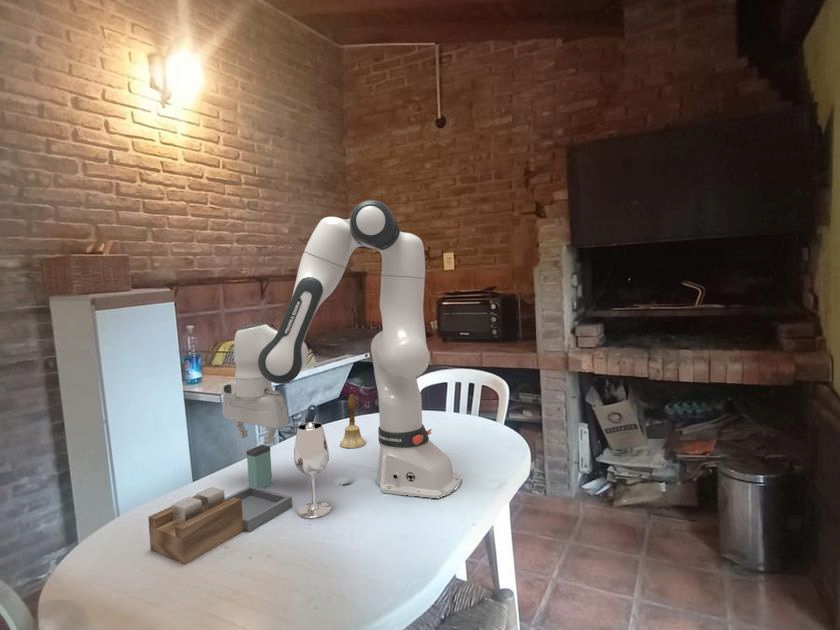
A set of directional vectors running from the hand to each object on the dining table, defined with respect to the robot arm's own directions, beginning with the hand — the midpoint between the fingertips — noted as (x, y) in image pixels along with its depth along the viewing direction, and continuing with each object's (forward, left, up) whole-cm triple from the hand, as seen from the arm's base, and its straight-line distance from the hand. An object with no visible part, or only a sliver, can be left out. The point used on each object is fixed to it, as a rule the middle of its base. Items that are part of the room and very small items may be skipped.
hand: (255, 440), depth 132 cm
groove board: (-9, +25, -12) cm, 29 cm away
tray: (-9, +11, -12) cm, 19 cm away
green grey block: (0, 0, -12) cm, 12 cm away
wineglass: (-22, +4, -13) cm, 26 cm away
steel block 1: (-9, +27, -7) cm, 29 cm away
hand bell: (-2, -36, -13) cm, 39 cm away
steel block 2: (-9, +21, -7) cm, 24 cm away
